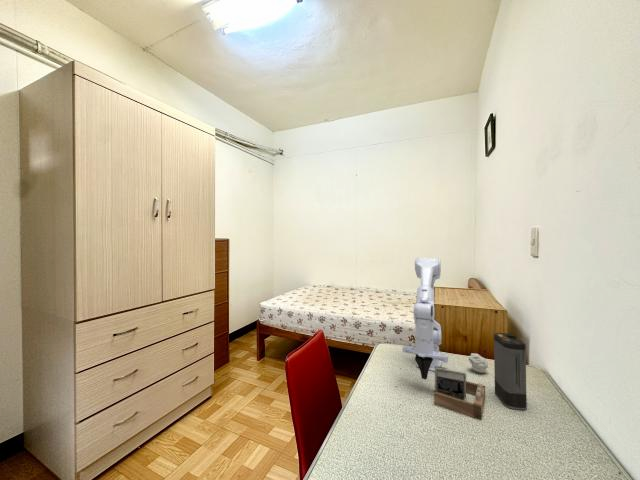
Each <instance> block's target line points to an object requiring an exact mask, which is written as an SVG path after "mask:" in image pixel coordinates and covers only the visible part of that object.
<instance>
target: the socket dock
mask: <svg viewBox="0 0 640 480" xmlns="http://www.w3.org/2000/svg"><path fill="white" fill-rule="evenodd" d="M466 394H469V395H472V396H474V400H473V402H470V401H468V400H465V399H464V400H461V399H458V398H454V397H451V396H448V394H447V395H445V394H441V393H438V392H437V391H434V392H433V395H434V397H433V401H434V402H433V405H435V406H438V407H441V408H445V409H447V410H450V411H454V412H456V413H459V414H462V415H465V416H467V417H471V418H474V419H476V420H479V421H482V418H483V413H484V407H485V400H486V386H485V385H484V384H483V383H481V382H479V383H475V382H471V381H468V380H466Z"/></svg>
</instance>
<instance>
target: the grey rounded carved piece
mask: <svg viewBox="0 0 640 480" xmlns="http://www.w3.org/2000/svg"><path fill="white" fill-rule="evenodd" d="M467 358H468V361H469V362H470V363H469V364H471V368H472V369H473V371H475V372H477V373H479V374H482V373H485V372H486V370H487V369H488V367H489V362H488V360H487V359H486V358H485V357H483V356H481V355H480V354H478V353H472V352H471V353H470V355H469V356H468V357H467Z"/></svg>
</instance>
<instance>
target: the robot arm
mask: <svg viewBox="0 0 640 480" xmlns="http://www.w3.org/2000/svg"><path fill="white" fill-rule="evenodd" d="M441 260H442V259H440V258H439V257H437V258H434V257H433V258H430V257H427V258H424V257H416V258H415V260H414V271H415V275H416V277H417V278H418V279H420V286H418V287H417V290H416V300H415V303H414V305H413V310H412V311H413V318H414V327H415V329H414V340H415V346H412V345H411V346H410V345H403V346H402V353H403V354H411V355H415V357H414V361H415V362H416V364H415V367H416V368H418V369H419V372H420V375H421V379H422V380H426V381H427V378H428V374H429V371H432V372H435V371H434V370H435V367H436V366H438V367H441V365H442V362H443V363H445V364H448V362H449V355H448V354H445V353H441V352H440V347H439V346H441V344H442V326H441V324H440V323H439V322H437V320H435V313H436V312H435V310H436V309H435V300H434V299H435V297H434V296H435V288H434V287H435V283H436V280H439V279H440V278H441V273H442V272H441V271H442V270H441V269H442V268H441V267H442V266H441V265H442V264H441V263H442V262H441Z"/></svg>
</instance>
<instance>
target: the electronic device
mask: <svg viewBox="0 0 640 480" xmlns="http://www.w3.org/2000/svg"><path fill="white" fill-rule="evenodd" d="M526 345H527V344H526V343H525V341H523V340H517V336H515V334H512V333H505V332H494V334H493V354H494V355H493V356H494V359H493V361H494V366H493V368H494V394H495V395H496V397H497V398H498V399H499V400H500V401H501V402H502V403H503V405H504V406H506V407H507V408H508V409H513V410H522V411H526V410H527V409H528V408H527V406H528V405H527V404H528V403H527V401H528V399H527V361H526V360H527V357H526V356H527V352H526V351H527V350H526V349H527V348H526Z"/></svg>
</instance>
